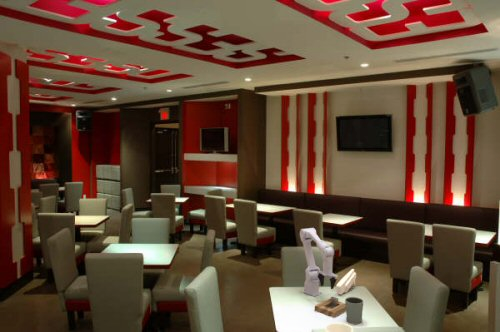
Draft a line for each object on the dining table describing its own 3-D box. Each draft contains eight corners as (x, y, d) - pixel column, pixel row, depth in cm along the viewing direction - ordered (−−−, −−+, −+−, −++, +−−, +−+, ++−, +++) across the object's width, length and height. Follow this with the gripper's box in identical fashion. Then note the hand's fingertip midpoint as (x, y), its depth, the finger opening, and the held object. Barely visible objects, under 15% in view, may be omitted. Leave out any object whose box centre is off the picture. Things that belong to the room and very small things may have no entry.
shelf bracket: (358, 285, 294) (356, 269, 291) (343, 303, 274) (342, 286, 272) (350, 284, 297) (349, 268, 294) (335, 301, 278) (334, 284, 275)
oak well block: (314, 310, 251) (314, 305, 250) (329, 303, 262) (329, 298, 262) (334, 317, 241) (334, 312, 241) (348, 309, 252) (348, 304, 252)
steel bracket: (325, 310, 250) (325, 299, 250) (332, 306, 255) (332, 296, 255) (331, 312, 247) (331, 301, 247) (338, 308, 253) (338, 298, 252)
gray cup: (365, 324, 233) (365, 303, 232) (348, 324, 232) (348, 303, 231) (359, 316, 243) (359, 296, 242) (342, 316, 242) (342, 296, 241)
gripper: (314, 265, 264) (314, 285, 265) (333, 270, 254) (333, 291, 255) (320, 262, 269) (320, 283, 270) (339, 267, 259) (339, 288, 260)
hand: (327, 287), depth 263 cm, fingers open, 7 cm apart
